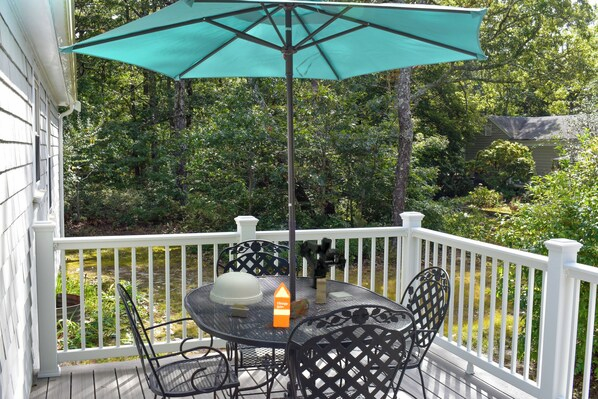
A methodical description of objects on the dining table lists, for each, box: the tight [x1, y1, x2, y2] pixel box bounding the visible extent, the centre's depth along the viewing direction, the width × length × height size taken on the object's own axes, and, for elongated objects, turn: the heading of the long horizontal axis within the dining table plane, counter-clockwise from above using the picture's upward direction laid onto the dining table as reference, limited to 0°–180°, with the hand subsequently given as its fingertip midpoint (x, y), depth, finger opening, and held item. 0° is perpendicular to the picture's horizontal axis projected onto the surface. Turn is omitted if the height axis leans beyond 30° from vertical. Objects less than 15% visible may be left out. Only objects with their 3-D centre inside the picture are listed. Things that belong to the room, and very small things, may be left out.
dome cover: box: [209, 271, 264, 306], centre depth 319 cm, size 32×30×14 cm
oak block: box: [315, 278, 327, 304], centre depth 315 cm, size 5×5×13 cm
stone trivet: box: [328, 291, 353, 299], centre depth 326 cm, size 10×10×3 cm
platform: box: [229, 303, 250, 318], centre depth 286 cm, size 12×18×7 cm, turn 77°
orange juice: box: [273, 282, 291, 328], centre depth 275 cm, size 8×9×20 cm
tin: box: [289, 298, 310, 319], centre depth 290 cm, size 15×3×8 cm, turn 143°
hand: (336, 271), depth 324 cm, fingers open, 9 cm apart
